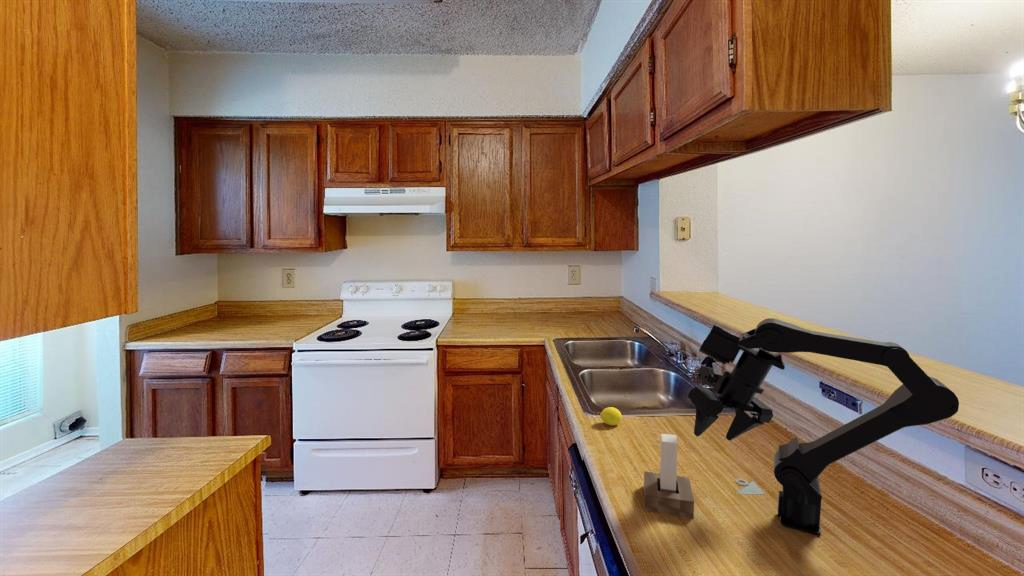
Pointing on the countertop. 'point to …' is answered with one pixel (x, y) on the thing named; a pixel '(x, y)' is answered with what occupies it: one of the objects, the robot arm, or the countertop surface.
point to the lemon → (611, 416)
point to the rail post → (668, 463)
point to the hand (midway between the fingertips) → (712, 437)
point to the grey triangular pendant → (749, 488)
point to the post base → (668, 496)
